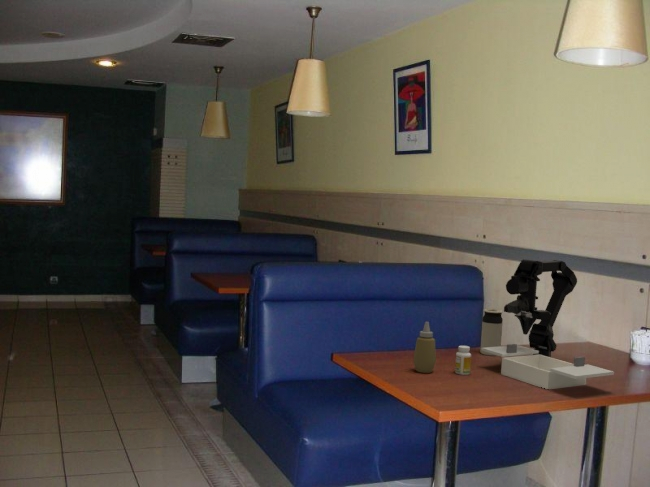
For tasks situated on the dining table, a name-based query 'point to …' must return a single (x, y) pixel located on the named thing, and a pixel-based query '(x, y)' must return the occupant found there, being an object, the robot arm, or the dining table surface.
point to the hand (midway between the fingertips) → (525, 334)
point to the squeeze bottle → (425, 351)
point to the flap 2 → (581, 370)
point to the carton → (538, 371)
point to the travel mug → (491, 329)
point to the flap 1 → (509, 350)
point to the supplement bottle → (463, 360)
